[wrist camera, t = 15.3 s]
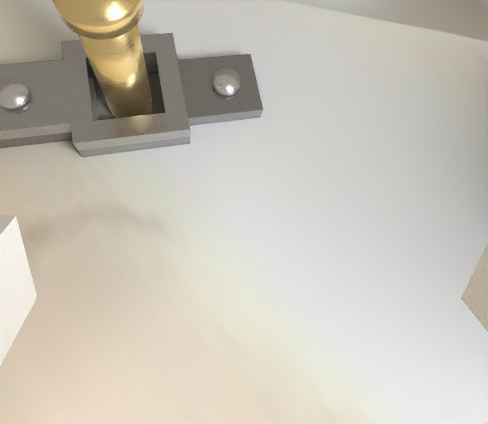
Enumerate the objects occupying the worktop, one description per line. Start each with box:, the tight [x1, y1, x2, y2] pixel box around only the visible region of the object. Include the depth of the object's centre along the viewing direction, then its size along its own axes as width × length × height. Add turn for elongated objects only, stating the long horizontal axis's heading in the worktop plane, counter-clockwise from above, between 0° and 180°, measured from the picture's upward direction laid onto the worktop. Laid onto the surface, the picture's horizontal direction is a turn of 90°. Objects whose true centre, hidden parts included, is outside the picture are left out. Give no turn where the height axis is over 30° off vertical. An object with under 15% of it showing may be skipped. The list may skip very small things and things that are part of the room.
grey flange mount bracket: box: [0, 33, 263, 157], centre depth 34 cm, size 24×10×4 cm, turn 101°
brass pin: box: [53, 0, 152, 118], centre depth 29 cm, size 5×5×14 cm
